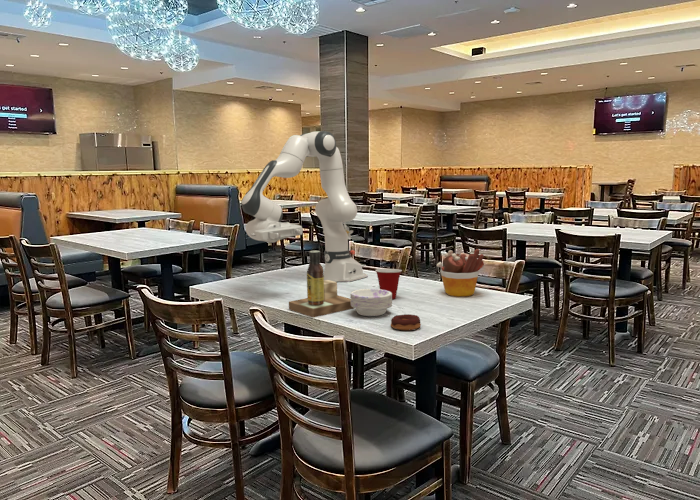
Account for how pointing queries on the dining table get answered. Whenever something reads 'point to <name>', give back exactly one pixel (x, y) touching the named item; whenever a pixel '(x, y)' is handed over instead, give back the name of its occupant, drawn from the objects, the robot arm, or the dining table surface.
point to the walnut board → (321, 306)
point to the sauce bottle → (315, 280)
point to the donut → (405, 322)
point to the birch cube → (330, 289)
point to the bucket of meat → (460, 273)
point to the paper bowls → (371, 301)
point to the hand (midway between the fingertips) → (289, 234)
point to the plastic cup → (389, 280)
